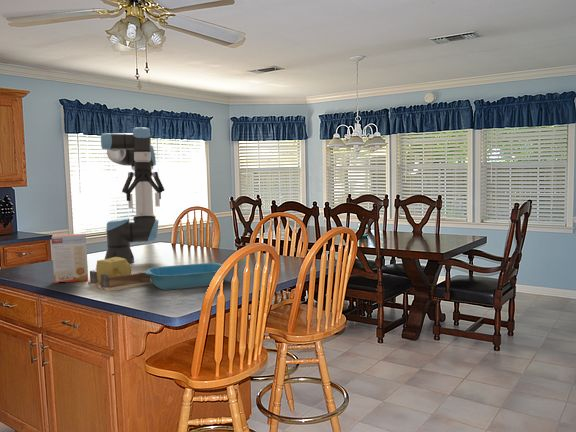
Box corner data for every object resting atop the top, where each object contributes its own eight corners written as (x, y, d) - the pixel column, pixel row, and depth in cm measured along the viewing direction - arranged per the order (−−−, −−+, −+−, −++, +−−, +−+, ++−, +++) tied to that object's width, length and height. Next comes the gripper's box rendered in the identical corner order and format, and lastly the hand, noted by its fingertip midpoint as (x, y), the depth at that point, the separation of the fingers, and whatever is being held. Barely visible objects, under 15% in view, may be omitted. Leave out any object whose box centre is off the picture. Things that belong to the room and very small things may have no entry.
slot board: (87, 283, 225) (87, 270, 224) (146, 274, 244) (146, 261, 243) (107, 291, 210) (106, 276, 210) (168, 280, 229) (168, 267, 229)
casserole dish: (222, 275, 240) (221, 260, 240) (238, 284, 220) (237, 268, 220) (141, 283, 225) (140, 267, 224) (150, 294, 205) (149, 276, 204)
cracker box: (88, 278, 236) (86, 233, 234) (88, 281, 230) (85, 234, 229) (54, 281, 231) (52, 234, 229) (53, 283, 226) (51, 236, 224)
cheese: (132, 281, 224) (131, 258, 223) (111, 286, 215) (110, 262, 214) (116, 278, 230) (115, 256, 229) (95, 283, 221) (94, 260, 220)
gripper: (120, 161, 228) (122, 209, 230) (170, 161, 245) (172, 206, 247) (113, 161, 233) (115, 208, 235) (162, 161, 250) (164, 205, 252)
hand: (144, 207), depth 241 cm, fingers open, 13 cm apart
